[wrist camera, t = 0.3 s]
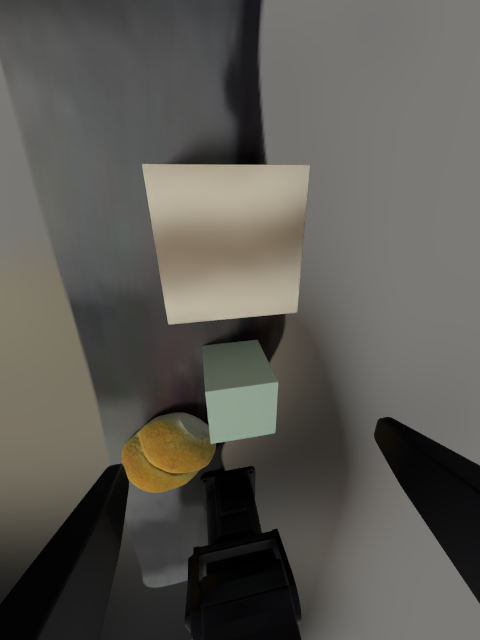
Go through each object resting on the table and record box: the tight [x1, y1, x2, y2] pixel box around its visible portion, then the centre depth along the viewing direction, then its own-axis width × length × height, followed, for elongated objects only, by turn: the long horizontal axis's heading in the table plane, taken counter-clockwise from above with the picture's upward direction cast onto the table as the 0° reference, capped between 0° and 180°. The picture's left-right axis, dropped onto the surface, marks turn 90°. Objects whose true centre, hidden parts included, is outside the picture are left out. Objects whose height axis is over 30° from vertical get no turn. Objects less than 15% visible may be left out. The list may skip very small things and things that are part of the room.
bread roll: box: [122, 412, 216, 493], centre depth 24 cm, size 8×9×4 cm
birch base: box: [142, 164, 310, 325], centre depth 16 cm, size 9×9×4 cm
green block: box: [202, 340, 278, 444], centre depth 20 cm, size 5×5×6 cm
